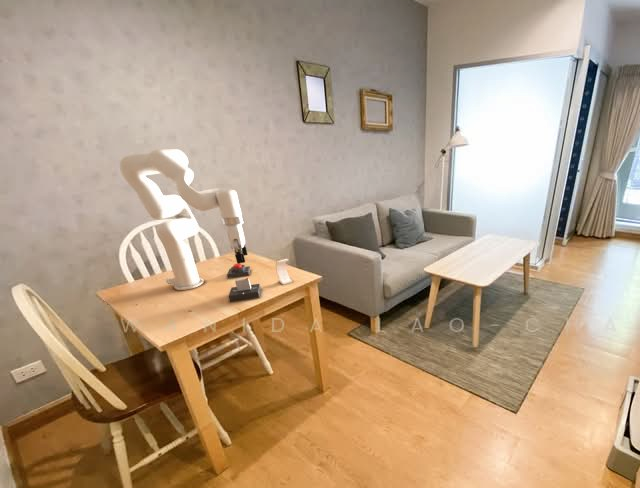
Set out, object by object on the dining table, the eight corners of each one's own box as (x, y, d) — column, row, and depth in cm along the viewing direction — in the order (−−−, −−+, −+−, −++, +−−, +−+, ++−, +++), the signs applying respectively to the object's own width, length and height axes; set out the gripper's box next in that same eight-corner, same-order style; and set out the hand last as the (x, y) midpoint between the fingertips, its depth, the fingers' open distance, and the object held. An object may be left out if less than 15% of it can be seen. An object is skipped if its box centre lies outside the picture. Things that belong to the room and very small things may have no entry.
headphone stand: (283, 284, 159) (278, 261, 154) (278, 280, 163) (273, 258, 158) (292, 282, 162) (288, 259, 156) (287, 278, 166) (283, 255, 161)
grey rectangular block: (237, 291, 147) (234, 280, 144) (238, 289, 148) (235, 279, 146) (250, 289, 148) (248, 279, 146) (251, 287, 149) (248, 277, 147)
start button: (233, 269, 168) (232, 266, 168) (234, 266, 172) (234, 263, 171) (241, 268, 169) (240, 265, 169) (242, 266, 173) (241, 262, 172)
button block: (228, 278, 167) (226, 271, 166) (230, 272, 174) (228, 265, 173) (249, 275, 170) (247, 268, 168) (250, 270, 177) (249, 263, 175)
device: (229, 302, 144) (228, 296, 142) (233, 292, 152) (231, 286, 151) (259, 298, 147) (257, 291, 145) (260, 289, 155) (259, 283, 154)
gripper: (226, 216, 144) (235, 253, 151) (219, 226, 129) (230, 267, 136) (244, 215, 146) (253, 251, 153) (240, 224, 131) (250, 264, 138)
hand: (242, 258), depth 144 cm, fingers open, 9 cm apart
